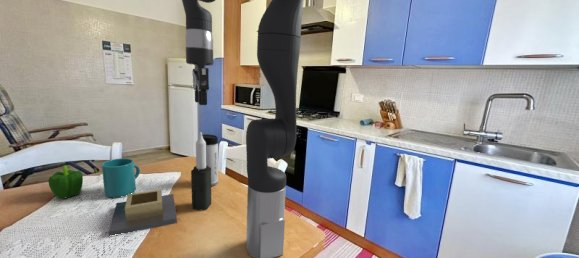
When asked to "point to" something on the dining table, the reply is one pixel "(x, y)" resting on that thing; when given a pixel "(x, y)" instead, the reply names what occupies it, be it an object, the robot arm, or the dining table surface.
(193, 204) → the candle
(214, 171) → the travel mug
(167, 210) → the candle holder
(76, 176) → the bell pepper
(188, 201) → the dining table surface
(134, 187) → the cup
